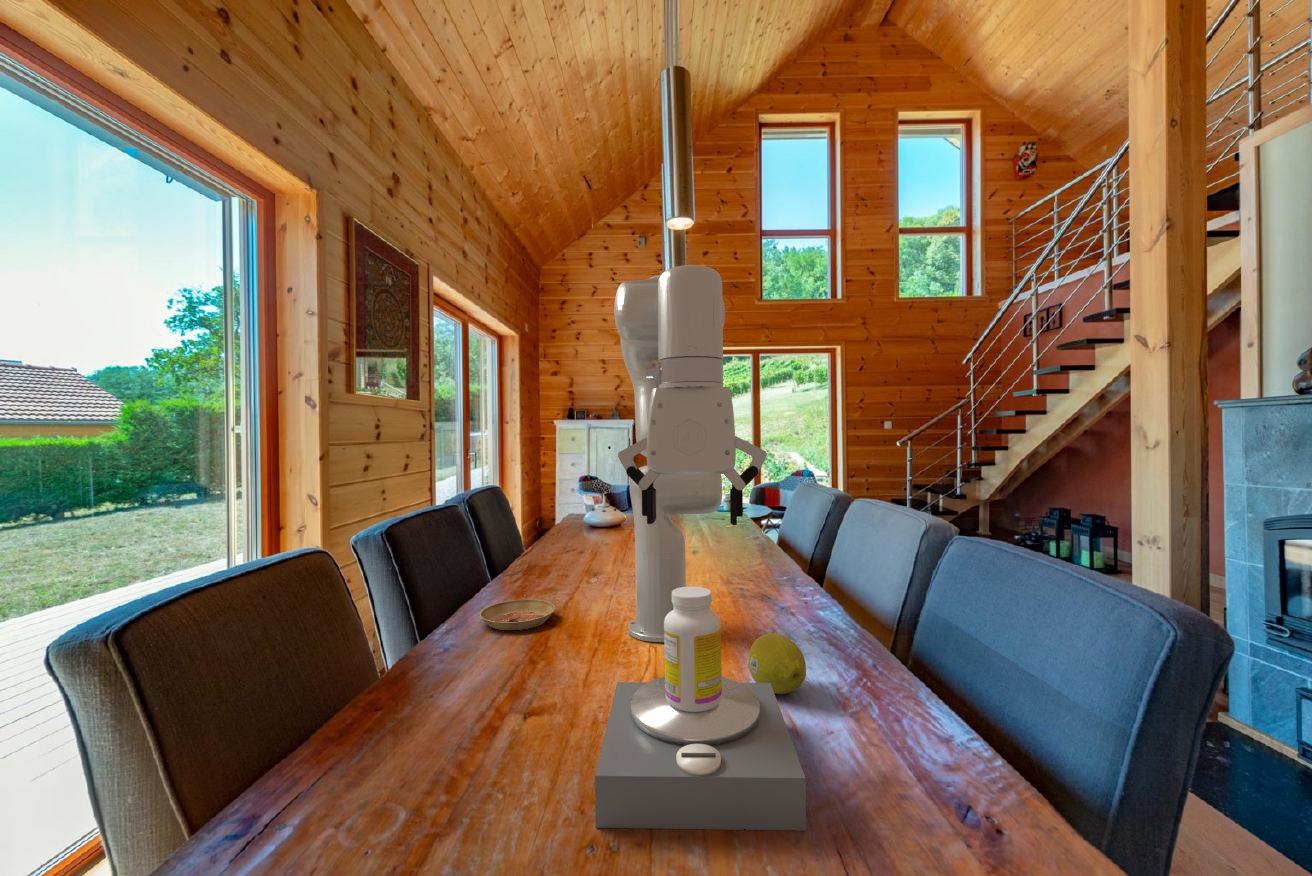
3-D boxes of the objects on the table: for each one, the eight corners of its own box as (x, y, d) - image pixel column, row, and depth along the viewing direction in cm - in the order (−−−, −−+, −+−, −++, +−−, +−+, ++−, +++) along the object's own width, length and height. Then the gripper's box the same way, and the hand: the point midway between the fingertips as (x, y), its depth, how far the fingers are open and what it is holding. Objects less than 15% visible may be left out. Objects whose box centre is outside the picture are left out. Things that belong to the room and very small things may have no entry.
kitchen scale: (617, 720, 74) (617, 676, 74) (770, 721, 73) (770, 676, 73) (595, 827, 54) (594, 767, 54) (806, 830, 53) (805, 769, 53)
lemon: (741, 677, 86) (741, 625, 86) (791, 674, 87) (790, 623, 87) (761, 712, 75) (760, 652, 75) (817, 708, 76) (816, 650, 76)
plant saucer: (464, 632, 108) (463, 618, 108) (506, 608, 122) (505, 596, 122) (532, 639, 104) (532, 625, 104) (567, 614, 118) (567, 601, 118)
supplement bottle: (727, 692, 68) (726, 586, 68) (714, 718, 62) (713, 602, 61) (674, 684, 70) (673, 582, 70) (657, 709, 64) (655, 597, 64)
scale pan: (635, 680, 73) (635, 673, 73) (750, 681, 73) (750, 673, 73) (625, 744, 58) (625, 735, 58) (769, 746, 58) (769, 736, 58)
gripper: (611, 375, 63) (613, 527, 63) (768, 372, 60) (769, 529, 61) (623, 380, 70) (625, 517, 70) (764, 377, 68) (764, 518, 68)
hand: (692, 522), depth 66 cm, fingers open, 9 cm apart
